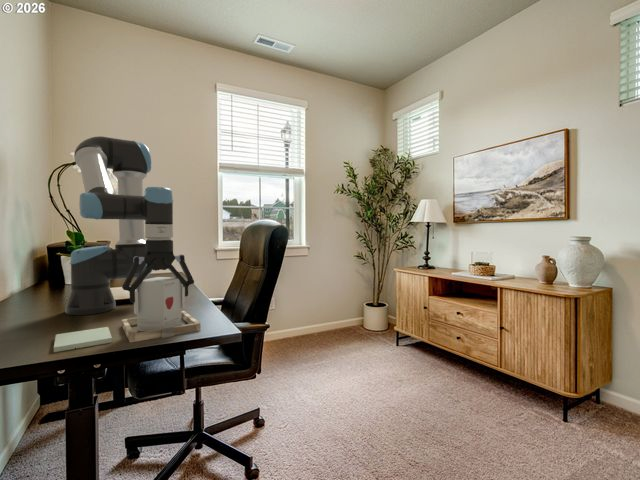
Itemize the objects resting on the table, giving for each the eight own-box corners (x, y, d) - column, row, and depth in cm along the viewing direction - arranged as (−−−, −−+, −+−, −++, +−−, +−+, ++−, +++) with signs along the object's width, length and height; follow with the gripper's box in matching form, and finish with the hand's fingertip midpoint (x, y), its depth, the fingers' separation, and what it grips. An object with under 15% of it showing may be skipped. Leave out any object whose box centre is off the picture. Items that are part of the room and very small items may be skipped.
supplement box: (163, 333, 95) (163, 281, 94) (136, 331, 96) (135, 280, 96) (182, 324, 104) (182, 277, 103) (157, 322, 105) (157, 276, 105)
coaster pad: (56, 338, 90) (55, 334, 90) (108, 330, 97) (108, 326, 97) (53, 352, 80) (53, 347, 80) (111, 342, 87) (111, 337, 87)
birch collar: (121, 325, 103) (121, 317, 102) (183, 315, 113) (183, 309, 113) (130, 343, 86) (130, 334, 86) (201, 330, 97) (201, 322, 97)
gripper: (112, 240, 89) (114, 319, 89) (204, 238, 103) (204, 306, 104) (110, 239, 95) (111, 313, 95) (197, 238, 109) (197, 302, 110)
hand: (160, 310), depth 100 cm, fingers closed on supplement box, 12 cm apart
